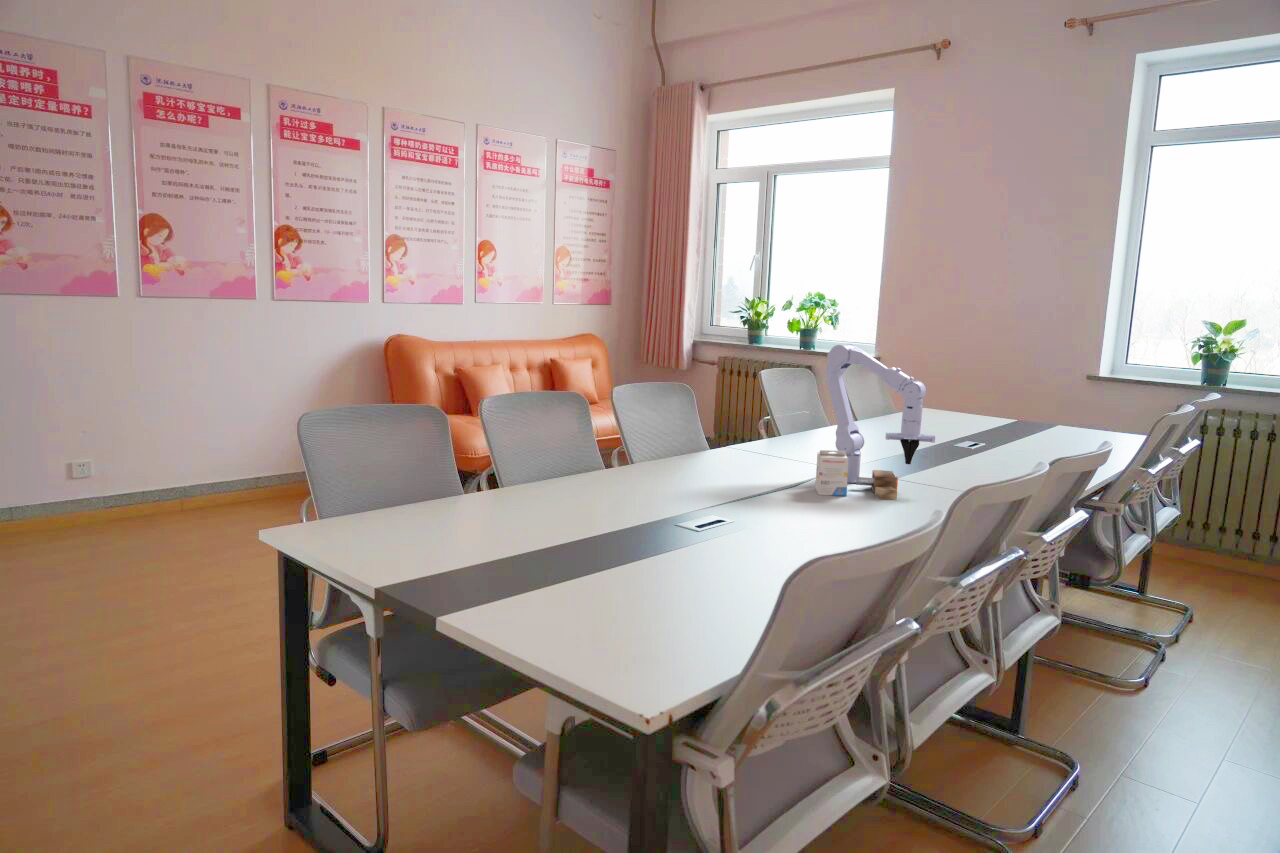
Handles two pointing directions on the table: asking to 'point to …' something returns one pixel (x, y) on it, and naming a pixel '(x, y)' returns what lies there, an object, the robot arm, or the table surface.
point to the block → (885, 492)
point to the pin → (870, 481)
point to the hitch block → (883, 479)
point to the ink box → (832, 473)
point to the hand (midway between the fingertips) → (907, 463)
